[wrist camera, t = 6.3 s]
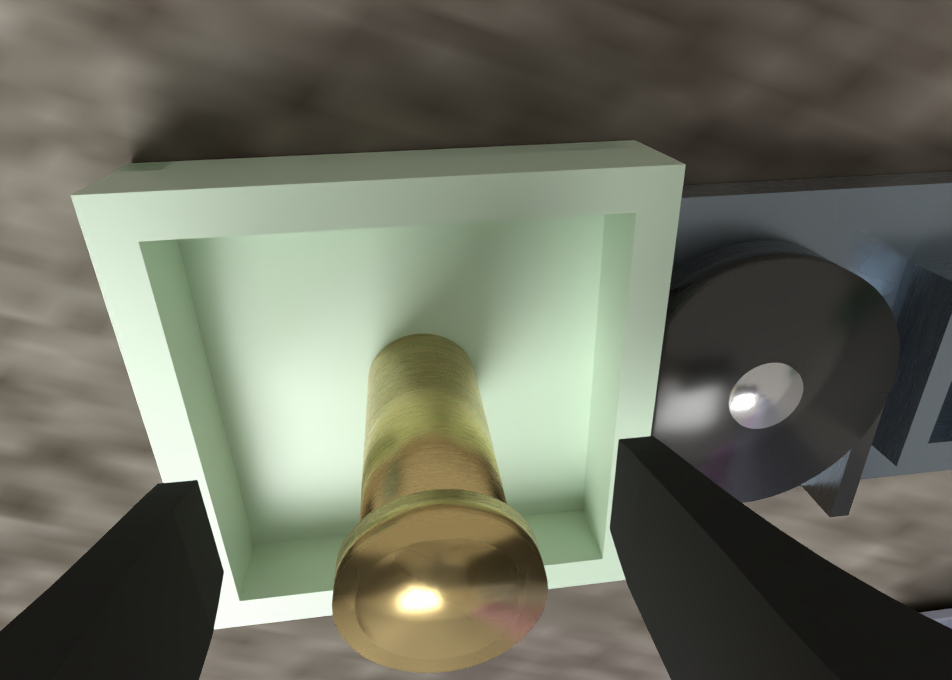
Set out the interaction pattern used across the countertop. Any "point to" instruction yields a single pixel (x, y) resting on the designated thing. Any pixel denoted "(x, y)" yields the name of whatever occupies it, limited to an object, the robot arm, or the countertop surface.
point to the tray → (385, 333)
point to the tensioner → (810, 334)
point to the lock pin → (433, 523)
